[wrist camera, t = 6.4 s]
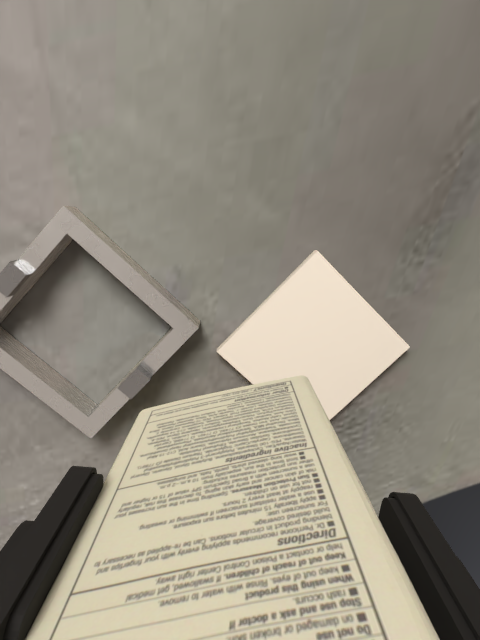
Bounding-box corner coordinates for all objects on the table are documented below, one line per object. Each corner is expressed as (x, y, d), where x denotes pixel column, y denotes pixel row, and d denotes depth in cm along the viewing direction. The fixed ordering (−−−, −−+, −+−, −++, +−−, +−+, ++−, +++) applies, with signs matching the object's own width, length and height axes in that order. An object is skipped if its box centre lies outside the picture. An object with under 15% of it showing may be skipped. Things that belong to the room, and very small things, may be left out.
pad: (314, 250, 27) (317, 250, 26) (405, 343, 29) (410, 347, 28) (217, 348, 28) (216, 351, 28) (309, 431, 30) (311, 437, 29)
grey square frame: (75, 207, 26) (57, 204, 23) (200, 320, 28) (197, 331, 25) (-26, 325, 27) (-54, 336, 25) (99, 424, 29) (86, 444, 27)
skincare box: (171, 505, 15) (-112, 1691, 3) (137, 402, 14) (-548, 1623, 2) (333, 473, 14) (784, 1671, 2) (312, 364, 13) (935, 1571, 1)
